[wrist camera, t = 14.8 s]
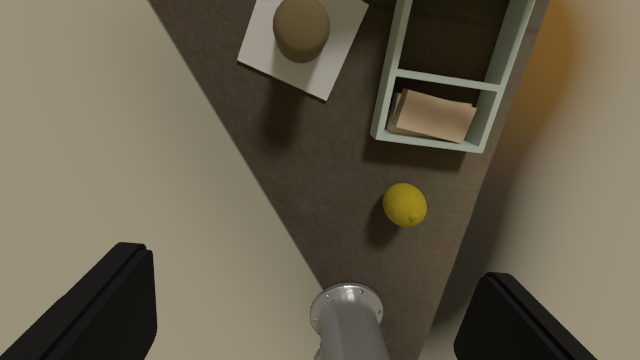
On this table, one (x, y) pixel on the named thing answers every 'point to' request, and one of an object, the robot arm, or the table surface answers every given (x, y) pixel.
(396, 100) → the offcut lower
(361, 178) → the table surface
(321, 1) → the mat
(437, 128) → the offcut upper
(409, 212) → the lemon
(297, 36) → the cork
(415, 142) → the rack
